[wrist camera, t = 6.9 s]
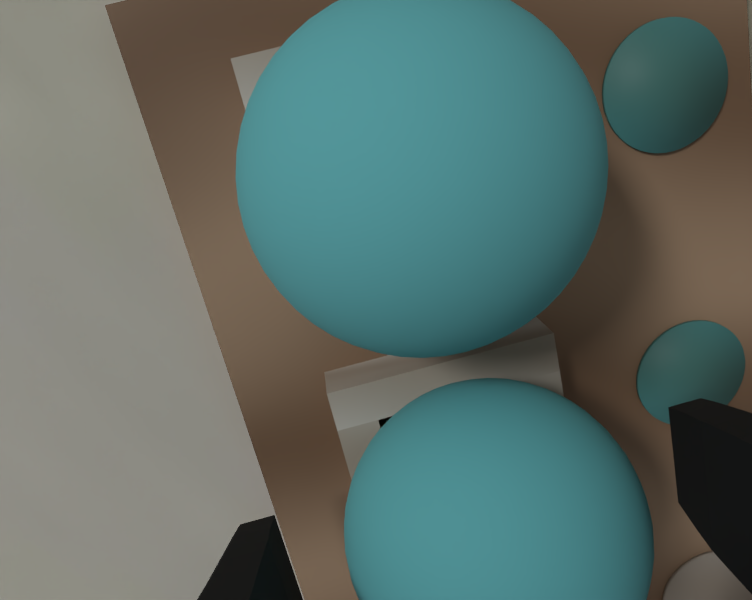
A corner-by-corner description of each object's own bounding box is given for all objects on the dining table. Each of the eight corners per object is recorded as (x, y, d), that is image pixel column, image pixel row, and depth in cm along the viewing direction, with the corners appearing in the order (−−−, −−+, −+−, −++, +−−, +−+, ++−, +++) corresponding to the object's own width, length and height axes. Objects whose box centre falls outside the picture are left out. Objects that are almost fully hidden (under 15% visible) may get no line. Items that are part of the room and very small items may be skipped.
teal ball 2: (590, 519, 14) (735, 727, 10) (367, 581, 14) (404, 825, 10) (558, 307, 13) (712, 433, 8) (306, 374, 13) (314, 543, 8)
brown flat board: (759, 654, 18) (808, 712, 16) (368, 769, 18) (376, 841, 16) (711, -133, 12) (779, -169, 10) (117, 10, 12) (87, -3, 10)
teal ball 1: (550, 258, 13) (706, 359, 8) (292, 326, 12) (292, 473, 8) (506, -28, 11) (668, -117, 6) (209, 45, 11) (144, 9, 6)
